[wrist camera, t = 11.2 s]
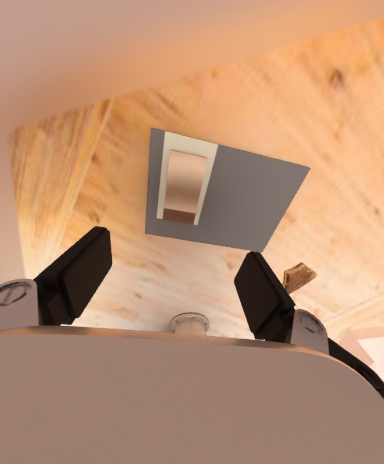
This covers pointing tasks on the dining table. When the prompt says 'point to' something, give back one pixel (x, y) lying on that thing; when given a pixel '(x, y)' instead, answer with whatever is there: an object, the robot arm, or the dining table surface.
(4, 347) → the robot arm
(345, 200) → the dining table surface
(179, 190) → the tan tapered block
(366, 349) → the hipped roof block
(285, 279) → the shard
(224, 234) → the mat
